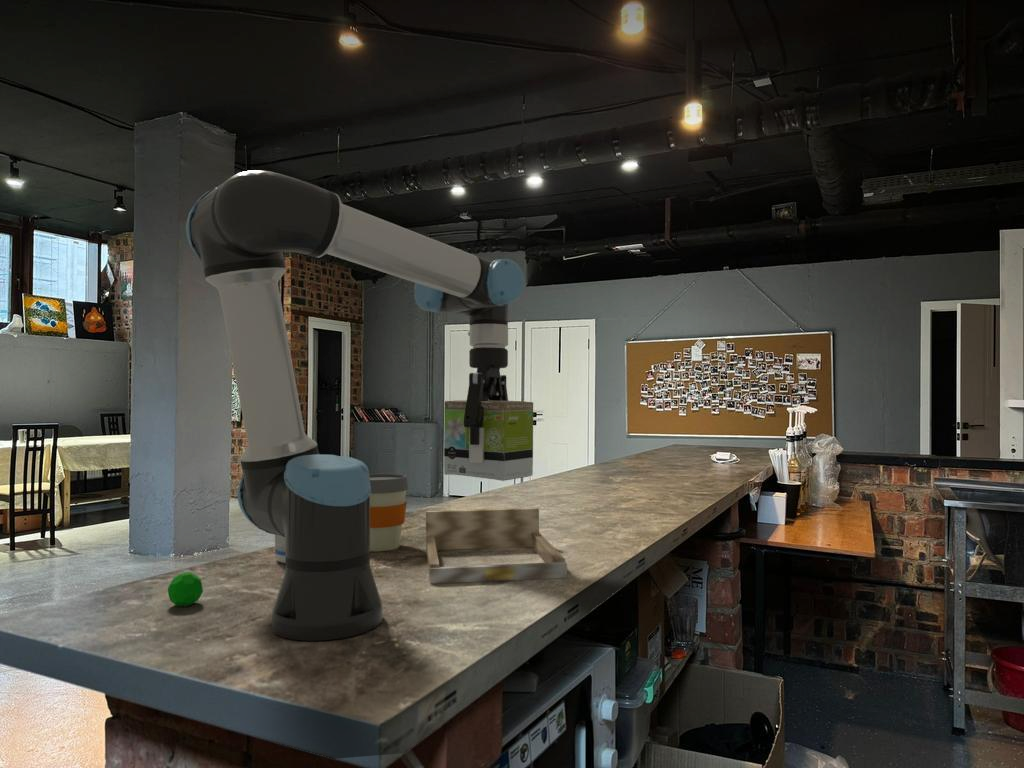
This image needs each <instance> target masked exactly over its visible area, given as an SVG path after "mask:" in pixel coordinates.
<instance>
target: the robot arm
mask: <svg viewBox="0 0 1024 768" xmlns="http://www.w3.org/2000/svg"><path fill="white" fill-rule="evenodd" d="M185 225H186V226H185V231H186V232H185V233H186V238H187V241H188V244H189V246H190V248H191V250H192V251H193V254H194V255H195V256H196V257H197V258H198V259H199V260H200V261H201V263H202V269H203V273H204V280H205V282H207V283H209V285H211V286H213V287H214V288H216V289H217V291H218V295H219V300H220V304H221V309H222V310H221V311H222V315H223V321H224V325H225V330H226V335H227V341H228V345H229V346H228V347H229V352H230V356H231V361H232V367H233V373H234V378H235V382H236V387H237V394H238V399H239V405H240V409H241V414H242V420H243V424H244V425H243V426H244V431H245V435H246V440H247V447H246V449H244V451H243V452H242V454H241V455H240V457H239V460H240V465H241V470H242V476H241V478H240V480H239V483H238V487H237V502H238V505H239V509H240V510H241V512H242V514H243V516H244V517H245V518H246V519H247V520H248V521H249V522H250V523H251V524H253V525H254V526H255V527H256V528H258V529H259V530H261V531H263V532H265V533H267V534H270V535H274V536H275V535H279V536H282V537H285V556H286V563H284V564H285V567H284V568H285V569H284V575H283V578H282V580H281V585H280V588H279V590H278V594H277V595H276V600H275V602H274V606H273V608H272V609H273V610H272V613H271V629H272V632H273V633H274V634H275V635H277V636H279V637H283V638H286V639H290V640H297V641H328V640H329V641H331V640H338V639H343V638H349V637H353V636H357V635H361V634H363V633H367V632H369V631H372V630H373V629H375V628H377V627H378V626H380V624H381V623H382V621H383V603H382V600H381V599H382V598H381V596H380V593H379V590H378V587H377V584H376V581H375V578H374V575H373V572H372V569H371V551H370V494H371V484H370V478H369V474H370V471H369V468H368V465H366V463H364V461H362V460H359V459H357V458H354V457H351V456H344V455H342V456H341V455H340V456H339V455H336V454H320V451H319V447H318V442H316V441H315V440H314V439H312V438H311V437H309V436H308V435H307V434H306V432H305V426H304V419H303V416H302V410H301V404H300V398H299V391H298V388H297V381H296V376H295V371H294V366H293V365H294V364H293V360H292V355H291V349H290V343H289V338H288V332H287V325H286V320H285V316H284V315H285V314H284V311H283V310H284V309H283V305H282V301H281V300H282V299H281V298H282V297H281V293H280V288H279V282H280V281H281V279H282V277H283V276H284V274H285V273H286V272H287V270H286V263H285V258H284V253H286V252H287V253H297V254H302V255H307V256H310V257H314V258H318V259H319V258H322V257H323V256H325V255H329V256H333V257H336V258H339V259H341V260H345V261H348V262H351V263H354V264H356V265H357V264H358V265H360V266H362V267H363V266H364V267H366V268H369V269H372V270H375V271H378V272H381V273H385V274H388V275H391V276H393V277H398V278H399V279H404V280H406V281H409V282H412V283H415V284H414V295H413V296H414V299H415V302H416V304H417V307H418V308H420V309H421V310H422V311H427V312H432V313H434V314H437V313H442V314H453V315H464V316H469V317H468V318H469V319H468V320H469V323H468V324H469V331H467V335H468V337H469V345H470V347H472V348H470V350H469V353H468V354H469V357H468V358H469V361H468V365H469V367H470V368H473V369H477V370H476V372H470V373H469V375H468V390H467V397H466V400H467V402H466V409H465V415H464V427H470V428H469V462H471V463H484V428H480V427H482V423H483V415H484V407H482V406H481V402H485V401H488V400H499V401H509V397H508V389H507V375H506V374H503V375H501V369H505V368H506V369H507V367H508V366H509V364H508V363H509V350H508V349H507V348H506V347H508V346H509V325H508V324H509V320H508V319H509V304H510V303H511V304H512V303H514V302H516V301H517V300H519V299H520V297H522V294H523V293H524V288H525V278H524V277H525V276H524V274H523V270H522V269H521V267H520V266H519V264H518V263H516V262H515V260H511V259H509V258H502V259H501V258H497V259H494V260H488V259H487V258H483V257H480V256H479V255H478V256H477V255H474V254H473V253H469V252H467V251H464V250H462V249H460V248H457V247H454V246H452V245H450V244H446V243H444V242H441V241H439V240H436V239H434V238H431V237H428V236H427V235H424V234H420V232H416V231H414V230H410V229H408V228H405V227H402V226H401V225H398V224H395V223H393V222H390V221H387V220H385V219H382V218H379V217H377V216H375V215H372V214H370V213H367V212H364V211H362V210H360V209H356V208H354V207H351V206H350V205H349V206H348V205H346V204H344V203H342V200H341V198H340V196H339V195H338V194H337V193H335V192H332V191H330V190H327V189H325V188H323V187H320V186H318V185H315V184H312V183H309V182H307V181H304V180H301V179H299V178H295V177H292V176H289V175H286V174H282V173H278V172H275V171H270V170H269V171H268V170H260V169H259V170H256V169H255V170H247V171H242V172H241V171H240V172H238V173H236V174H234V175H233V176H230V177H229V178H228V179H227V180H225V181H224V182H223V183H221V184H220V185H219V186H217V187H214V188H213V189H210V190H208V191H206V192H205V193H204V194H203V195H201V196H200V197H199V198H198V199H197V201H196V202H195V204H194V205H193V206H192V208H191V209H190V211H189V213H188V215H187V219H186V224H185Z"/></svg>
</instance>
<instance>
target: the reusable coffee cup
mask: <svg viewBox="0 0 1024 768" xmlns="http://www.w3.org/2000/svg"><path fill="white" fill-rule="evenodd" d="M407 477H408V476H407V475H405V474H399V473H369V478H370V484H371V494H370V552H384V551H385V552H386V551H392V550H396V549H398V548H400V547H401V546H400V545H401V536H402V530H403V529H402V528H403V525H404V524H405V519H406V511H407V510H406V509H407V504H408V503H407V501H406V496H407V491H408V489H409V487H408V486H409V485H408V478H407Z"/></svg>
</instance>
